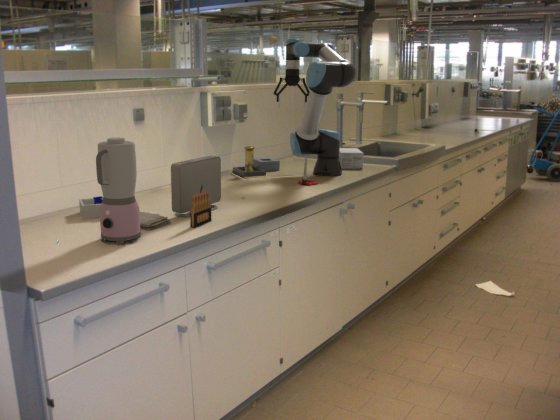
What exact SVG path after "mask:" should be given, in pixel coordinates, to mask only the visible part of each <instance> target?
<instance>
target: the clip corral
mask: <svg viewBox="0 0 560 420" xmlns="http://www.w3.org/2000/svg"><path fill="white" fill-rule="evenodd" d="M101 199H102V200H103V198H101ZM78 202H79V203H78V205H79V214H80V215H81V217H82V220H90V219H91V220H93V219H100V206H101V204H94V198H93V197H92V198H91V197H90V198H81V199H80V198H79V199H78Z"/></svg>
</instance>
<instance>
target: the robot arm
mask: <svg viewBox="0 0 560 420" xmlns="http://www.w3.org/2000/svg"><path fill="white" fill-rule="evenodd" d="M301 58H316V59H317V58H319V59H320V60H319V61H313V62H311V63H310V64H309V66H308V68H307V70H306V74H305V75H306V77H302V78H300V64H301V63H300V61H301ZM285 68H286V69H285V74H284V75H285V76H284V77H280V78H279V81H278V83H277V86H276V87H275V89H274V91H273V95H274V96H276V102H277V103H278V109H281V93H283V91H284V90H285V89H286V88H287V87H297V88H298V89H299V90H300V92H301V93H302V94H303V95H304V96H302V99H303V101H302V109H303V110H304V112H303V116H302V119H301V122H300V125H298V126H297V127H296V129H295V131H293V132H291V133H290V135H289V143H290V150H291V152H292V153H293V154H294V155H299V156H302V155H303V156H304V155H306V156H307V155H317V156H316V158H317V159H316V161H315V163H314V166H313V173H314V174H315V175H318V176H323V177H324V176H325V177H326V176H327V177H335V176H341V175H342V172H343V168H341V165H340V161H339V151H340V148H341V134H340V132H339V131H337V130H332V129H325V128H318V127H319V124H320V122H321V118H322V115H323V110H324V108H325V105H326V101H327V97H328V96H329V95H331V94H332V92H333V90H334V88H345V87H347V86H350V85H351V84H352V83H353V82H354V80H355V79H356V77H357V68H356V66H355V64H354V63H353V62H352V61H350V60H349V59H344V58H343V57H342V56H341V55H339V53H337V52H336V51H335V48H334V44H333V43H330V42H313V41H311V42H310V41H309V42H308V41H307V42H306V41H301V40H300V39H299V38H287V39H286V44H285ZM282 82H285V84H284V85H283V86H282V87H281V85H282ZM300 82H301V83H302V84H303V86H304V88H305V90H304V89H303V88H302V86H301V85H300ZM280 87H281V89H279V88H280ZM278 90H279V91H278Z"/></svg>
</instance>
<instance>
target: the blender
mask: <svg viewBox="0 0 560 420" xmlns="http://www.w3.org/2000/svg"><path fill="white" fill-rule="evenodd" d="M95 167H96V169H95V170H96V178H97V179H96V180H97V184H99V185H100V187H101V191H102V197H103V201H102V203H101V206H100V218H99V223H100V239H101V242H105V241H111V242H116V245H124V244H125V242H126V241H131V240H135V239H137V238H139V237H140V238H141V236H142V232H141V230H142V229H140V212H141V211H140V206H139V203H138V202H137V200H136V197H135V193H136V185H137V183H136V182H137V177H138V175H137V174H138V172H137V171H138V170H137V156H136V144H135V143H134V142H133V141H129V140H127V141H126V139H125V138H124V137H109V138H107V139H106V141H100V142H98V143H97V154H96V157H95Z"/></svg>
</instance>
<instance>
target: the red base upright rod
mask: <svg viewBox="0 0 560 420" xmlns="http://www.w3.org/2000/svg"><path fill="white" fill-rule="evenodd" d="M303 167H304V169H303V177H302V179H301V180H298V181H297V184H298V185H303V186H311V185H315V186H316V185H318V184H319V182H318V181H316V180H310V179H309V180H308V179H307V176H308V175H307V171H308V169H307V168H308V159H307V157H305V158H304V165H303Z"/></svg>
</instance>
